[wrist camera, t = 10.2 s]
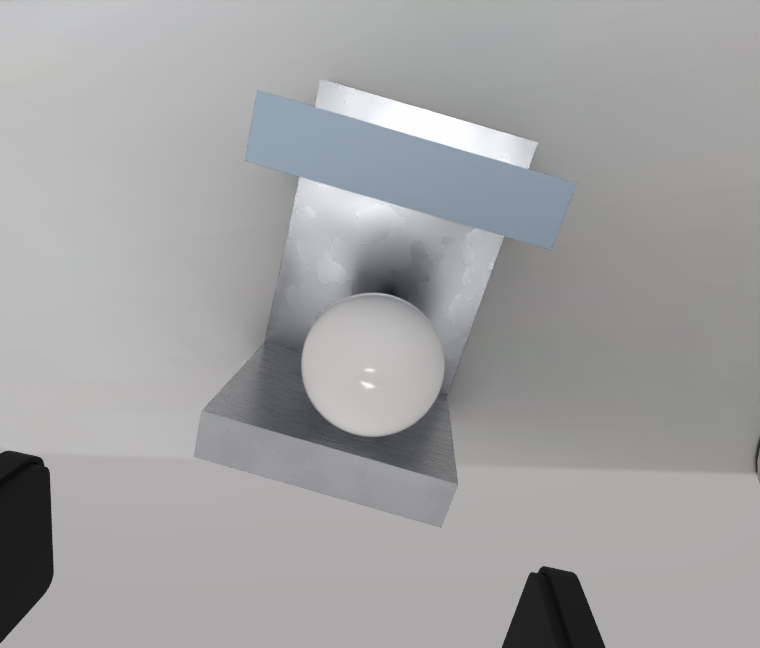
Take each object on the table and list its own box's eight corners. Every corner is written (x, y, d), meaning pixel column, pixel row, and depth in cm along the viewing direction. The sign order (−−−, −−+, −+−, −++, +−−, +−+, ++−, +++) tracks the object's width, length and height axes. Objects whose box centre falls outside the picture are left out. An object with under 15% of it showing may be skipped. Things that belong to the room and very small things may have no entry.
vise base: (529, 144, 27) (600, 125, 16) (434, 413, 32) (440, 527, 22) (327, 85, 27) (267, 28, 16) (266, 365, 32) (193, 456, 22)
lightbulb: (320, 345, 29) (268, 439, 19) (348, 247, 27) (306, 293, 17) (417, 375, 29) (419, 485, 19) (452, 280, 28) (473, 346, 17)
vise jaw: (525, 180, 25) (576, 183, 17) (508, 225, 26) (550, 250, 18) (311, 118, 25) (257, 89, 17) (301, 165, 26) (244, 161, 18)
